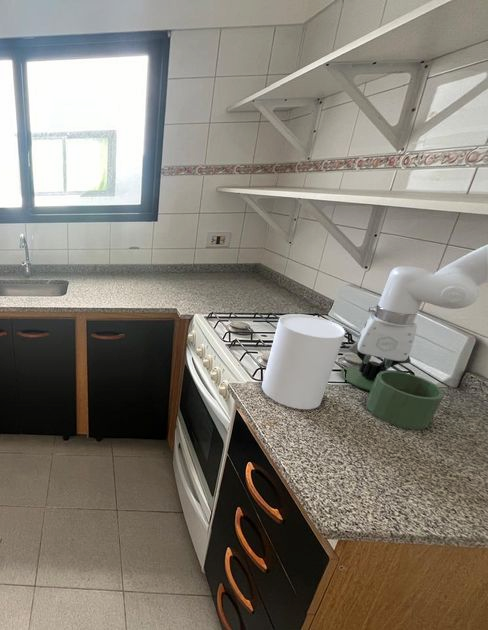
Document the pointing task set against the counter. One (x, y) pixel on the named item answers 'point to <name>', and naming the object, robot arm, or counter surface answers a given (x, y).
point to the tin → (404, 399)
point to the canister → (301, 360)
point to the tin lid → (357, 379)
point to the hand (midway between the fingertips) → (370, 375)
